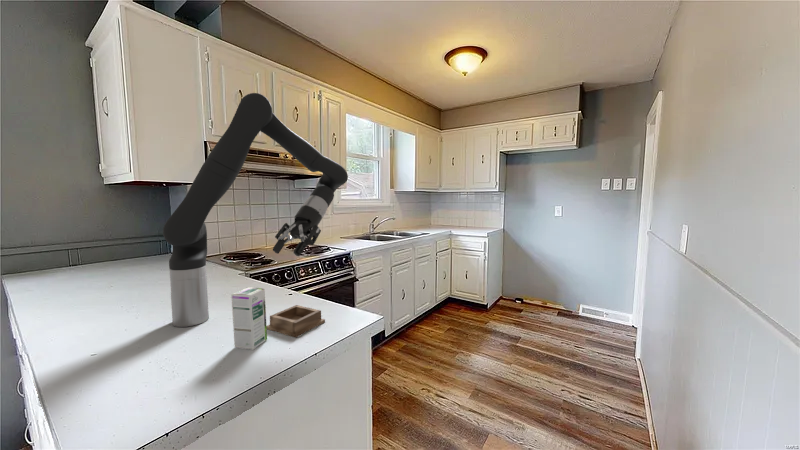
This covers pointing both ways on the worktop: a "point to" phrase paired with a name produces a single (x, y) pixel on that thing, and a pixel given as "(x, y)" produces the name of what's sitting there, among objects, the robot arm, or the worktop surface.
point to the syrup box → (249, 318)
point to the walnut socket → (295, 320)
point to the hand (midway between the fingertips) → (285, 253)
